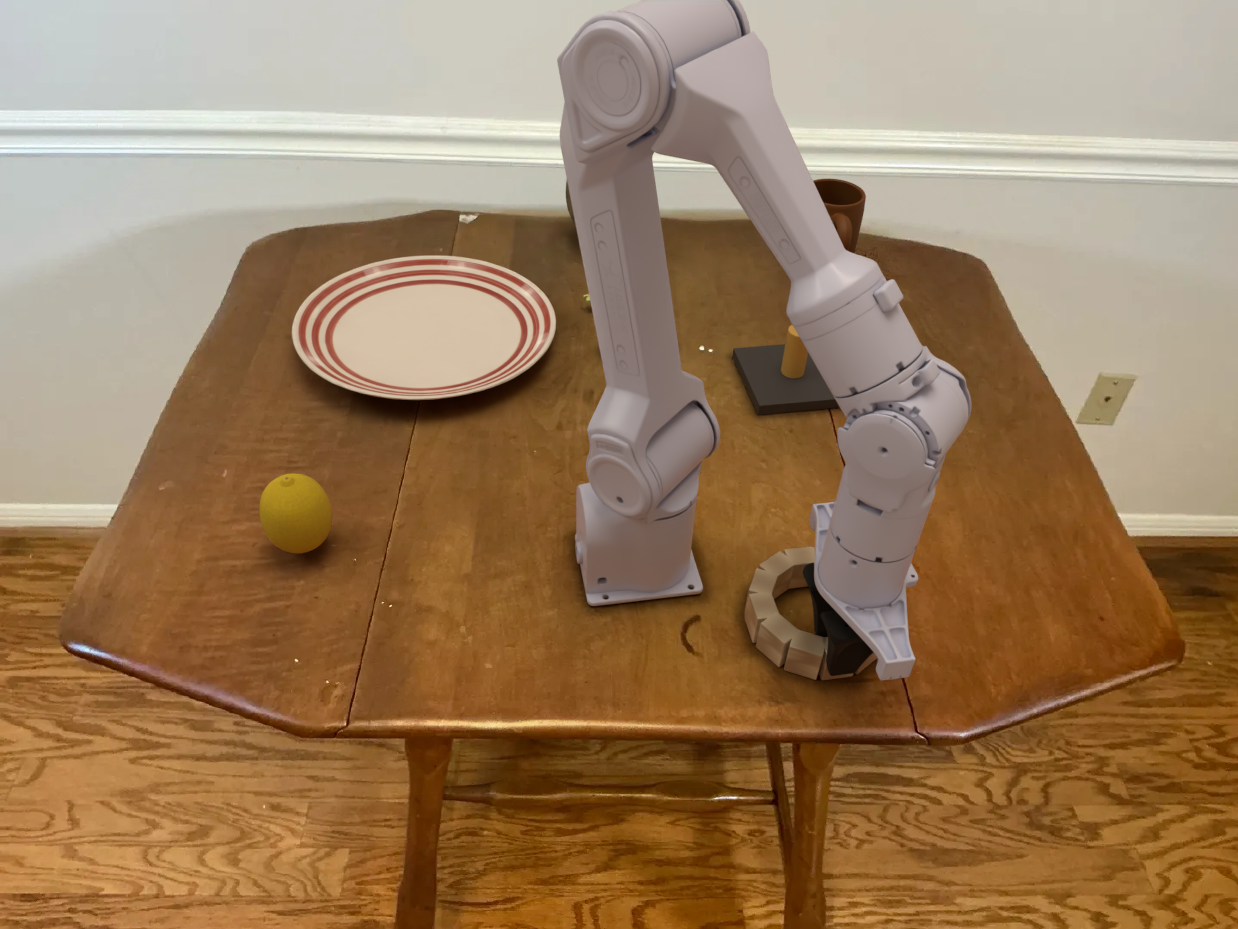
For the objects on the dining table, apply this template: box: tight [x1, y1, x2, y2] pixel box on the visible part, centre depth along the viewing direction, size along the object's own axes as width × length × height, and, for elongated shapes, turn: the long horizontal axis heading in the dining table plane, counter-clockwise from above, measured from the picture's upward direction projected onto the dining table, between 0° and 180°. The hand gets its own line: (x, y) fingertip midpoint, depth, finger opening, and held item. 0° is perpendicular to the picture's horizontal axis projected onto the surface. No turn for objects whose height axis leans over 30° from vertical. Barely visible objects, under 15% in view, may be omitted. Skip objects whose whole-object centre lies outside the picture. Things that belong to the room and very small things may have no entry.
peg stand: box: [731, 324, 841, 416], centre depth 97 cm, size 10×10×6 cm
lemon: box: [259, 472, 333, 554], centre depth 77 cm, size 6×6×8 cm
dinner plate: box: [291, 255, 557, 401], centre depth 101 cm, size 28×27×3 cm
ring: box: [743, 545, 878, 681], centre depth 74 cm, size 11×11×3 cm
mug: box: [813, 178, 867, 254], centre depth 113 cm, size 12×8×9 cm, turn 1°
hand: (835, 657), depth 71 cm, fingers closed on ring, 2 cm apart
